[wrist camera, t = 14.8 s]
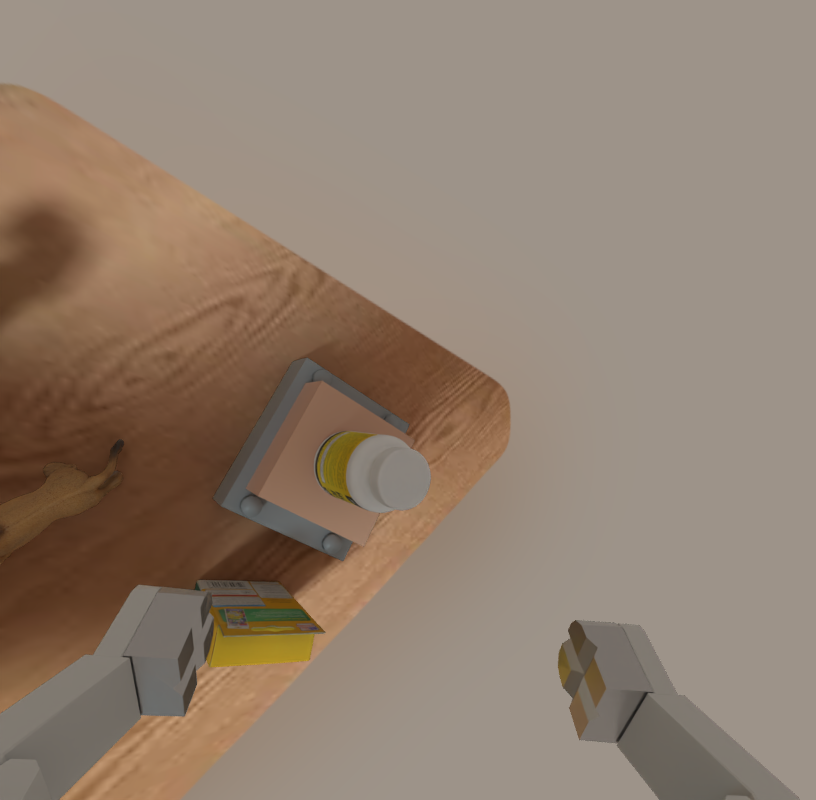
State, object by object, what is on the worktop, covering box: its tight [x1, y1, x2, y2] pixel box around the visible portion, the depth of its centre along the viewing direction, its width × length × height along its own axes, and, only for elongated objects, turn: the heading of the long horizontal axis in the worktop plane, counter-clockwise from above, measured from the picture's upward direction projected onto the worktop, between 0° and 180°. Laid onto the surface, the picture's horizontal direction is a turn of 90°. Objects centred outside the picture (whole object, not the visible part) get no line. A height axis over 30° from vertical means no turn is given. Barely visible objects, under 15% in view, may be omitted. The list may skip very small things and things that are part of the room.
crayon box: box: [195, 580, 326, 667], centre depth 37 cm, size 7×3×12 cm, turn 78°
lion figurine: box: [0, 439, 124, 565], centre depth 31 cm, size 15×5×9 cm, turn 132°
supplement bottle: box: [314, 431, 431, 513], centre depth 35 cm, size 5×5×10 cm
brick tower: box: [213, 358, 415, 561], centre depth 43 cm, size 14×12×8 cm
